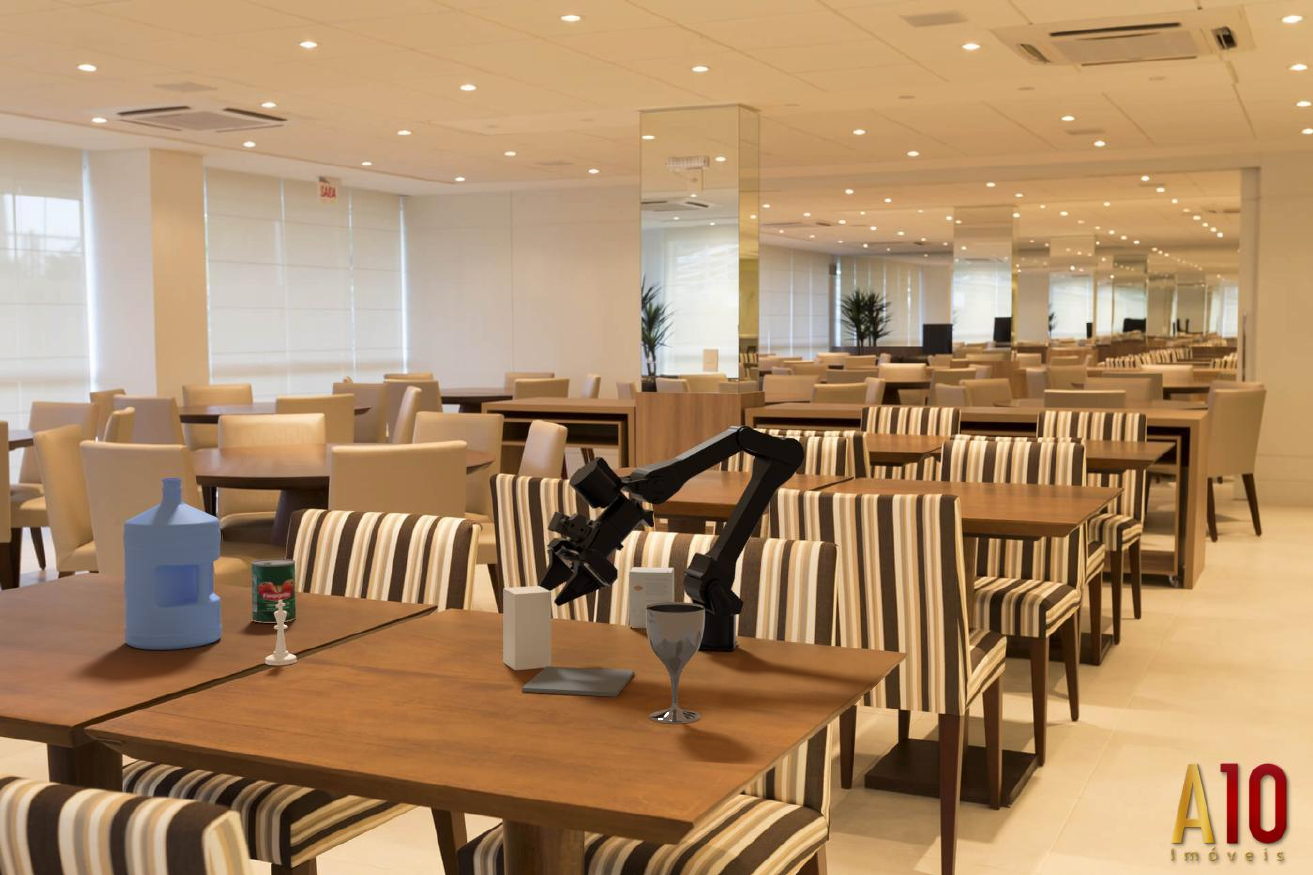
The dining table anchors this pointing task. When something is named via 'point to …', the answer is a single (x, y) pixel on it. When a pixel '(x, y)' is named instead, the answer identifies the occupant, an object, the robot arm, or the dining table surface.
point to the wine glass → (675, 648)
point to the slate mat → (579, 681)
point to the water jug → (171, 575)
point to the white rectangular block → (526, 627)
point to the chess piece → (280, 641)
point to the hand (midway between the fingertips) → (546, 599)
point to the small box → (648, 591)
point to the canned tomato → (273, 588)
